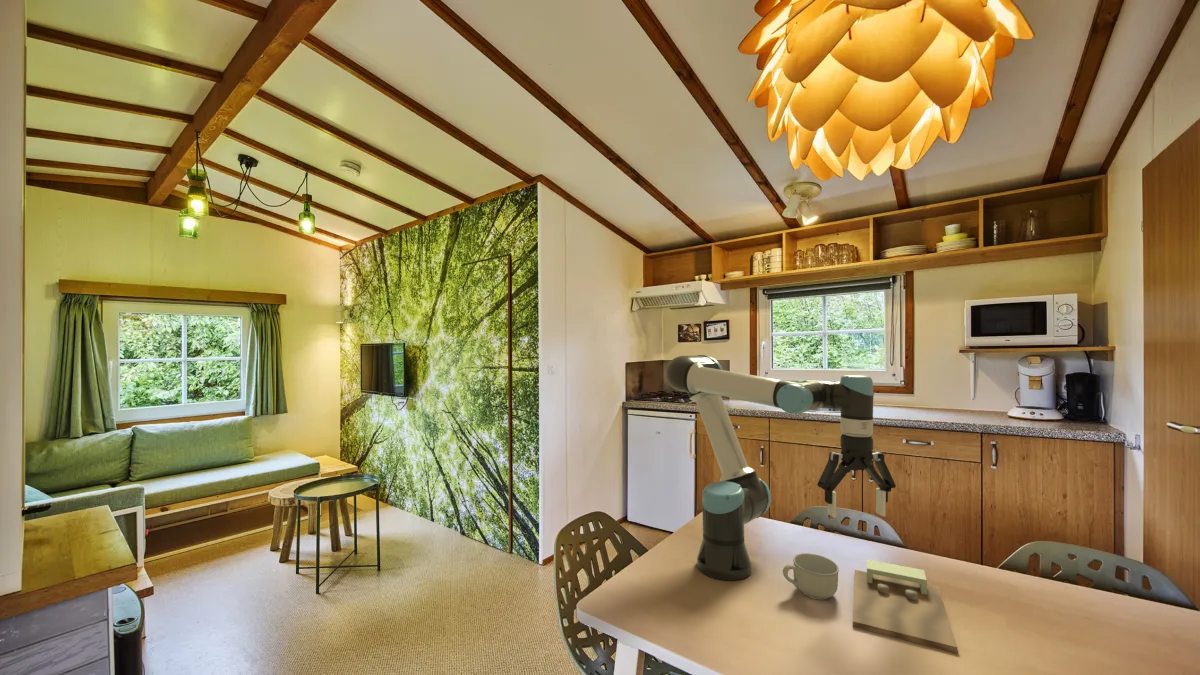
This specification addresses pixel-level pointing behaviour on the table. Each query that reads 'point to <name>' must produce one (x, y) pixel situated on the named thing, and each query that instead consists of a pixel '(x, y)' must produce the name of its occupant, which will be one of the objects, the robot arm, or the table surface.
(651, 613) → the table surface
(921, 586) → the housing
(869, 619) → the board
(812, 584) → the teacup
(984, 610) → the table surface
